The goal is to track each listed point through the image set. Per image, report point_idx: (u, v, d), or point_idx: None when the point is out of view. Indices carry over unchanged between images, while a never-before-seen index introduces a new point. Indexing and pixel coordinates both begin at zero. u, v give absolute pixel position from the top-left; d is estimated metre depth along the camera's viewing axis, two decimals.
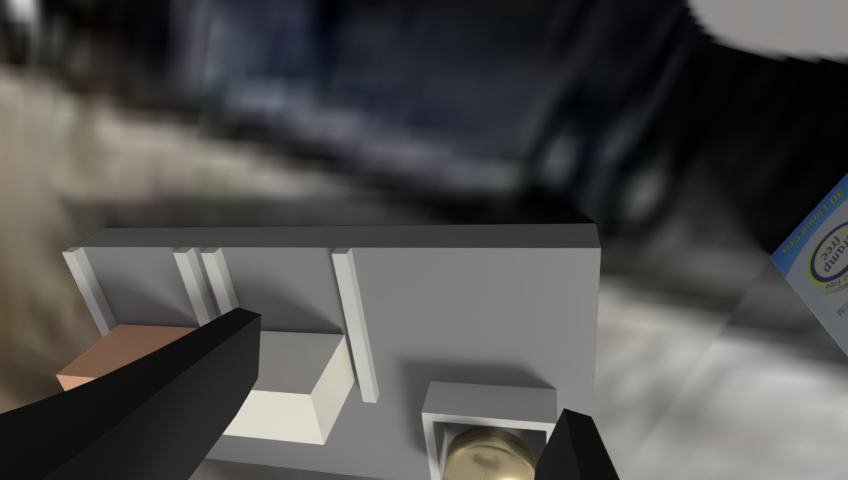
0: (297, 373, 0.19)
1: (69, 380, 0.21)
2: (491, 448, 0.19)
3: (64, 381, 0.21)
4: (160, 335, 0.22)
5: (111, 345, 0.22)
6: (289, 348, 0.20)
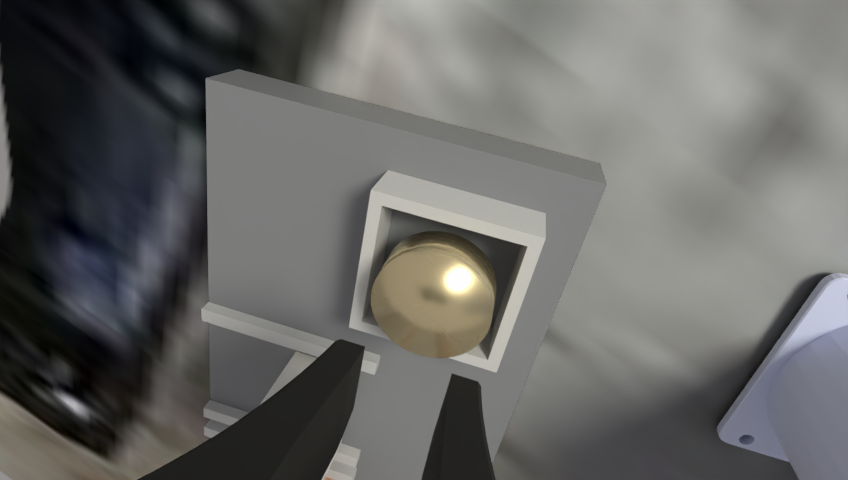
0: None
1: None
2: None
3: None
4: None
5: None
6: None
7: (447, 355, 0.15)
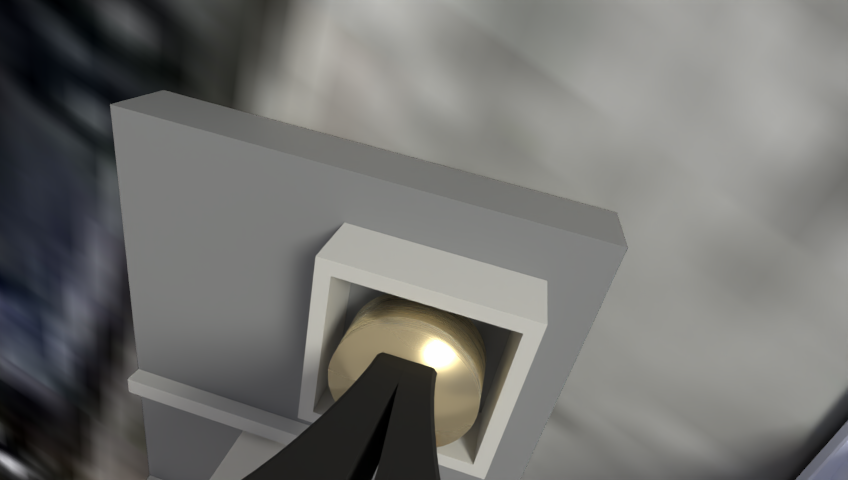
0: None
1: None
2: None
3: None
4: None
5: None
6: None
7: None
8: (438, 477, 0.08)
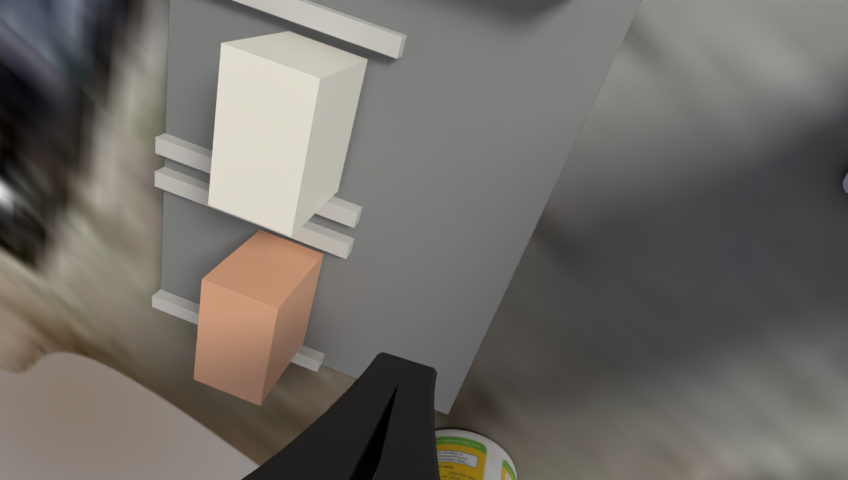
0: None
1: (200, 371, 0.17)
2: None
3: (202, 377, 0.17)
4: None
5: None
6: None
7: None
8: (438, 477, 0.08)
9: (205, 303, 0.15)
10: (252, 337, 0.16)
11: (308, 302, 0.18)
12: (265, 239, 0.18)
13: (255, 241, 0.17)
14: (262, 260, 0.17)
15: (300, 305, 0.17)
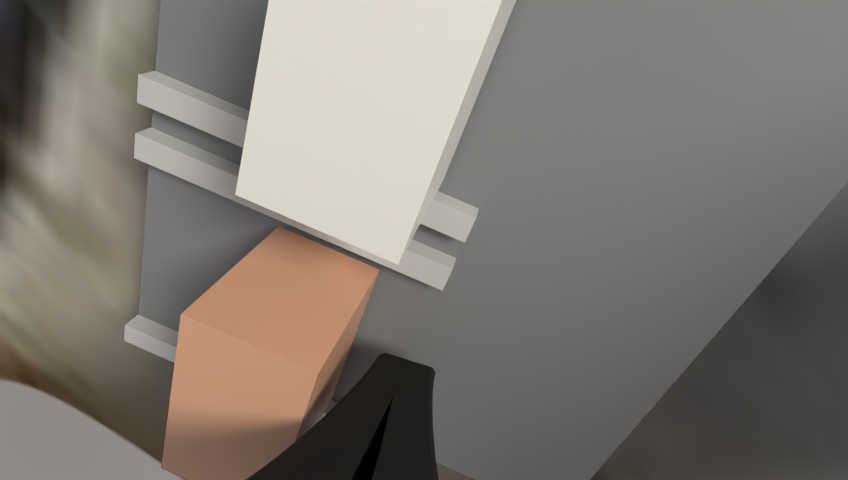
0: None
1: (174, 457, 0.10)
2: None
3: (176, 467, 0.10)
4: None
5: None
6: None
7: None
8: (436, 476, 0.08)
9: (185, 355, 0.09)
10: (266, 417, 0.09)
11: (349, 343, 0.12)
12: (288, 242, 0.11)
13: (272, 245, 0.11)
14: (285, 279, 0.10)
15: (341, 352, 0.11)
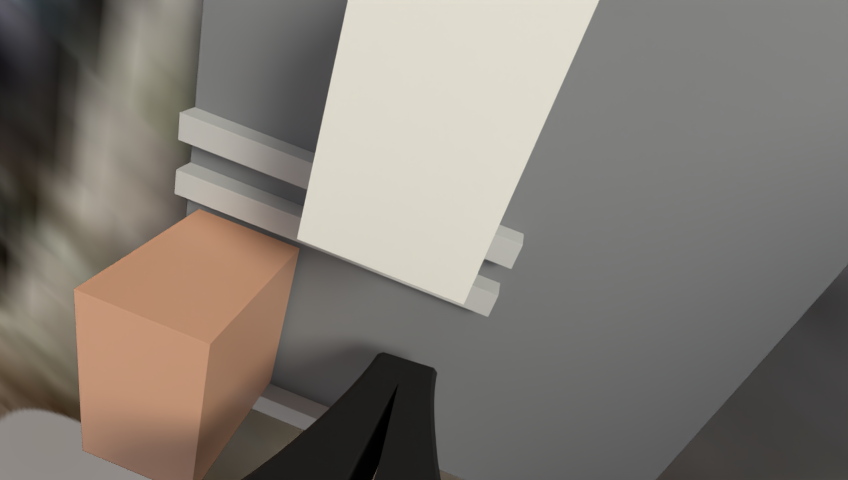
0: None
1: (92, 438, 0.10)
2: None
3: (96, 448, 0.10)
4: None
5: None
6: None
7: None
8: (438, 477, 0.08)
9: (85, 331, 0.09)
10: (169, 391, 0.09)
11: (275, 324, 0.12)
12: (205, 223, 0.11)
13: (188, 225, 0.11)
14: (195, 257, 0.10)
15: (260, 330, 0.11)
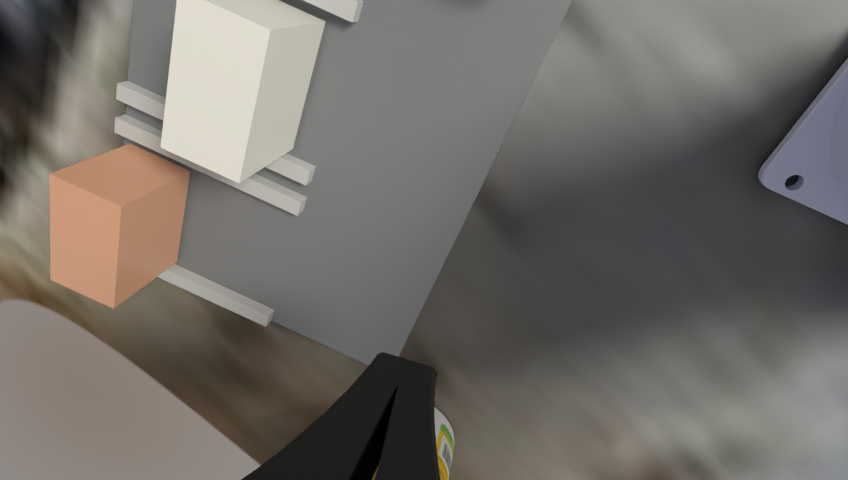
0: None
1: (56, 270, 0.18)
2: None
3: (58, 277, 0.18)
4: None
5: None
6: None
7: None
8: (438, 477, 0.08)
9: (54, 199, 0.16)
10: (100, 237, 0.16)
11: (175, 218, 0.19)
12: (132, 151, 0.18)
13: (121, 151, 0.18)
14: (121, 167, 0.17)
15: (161, 216, 0.18)
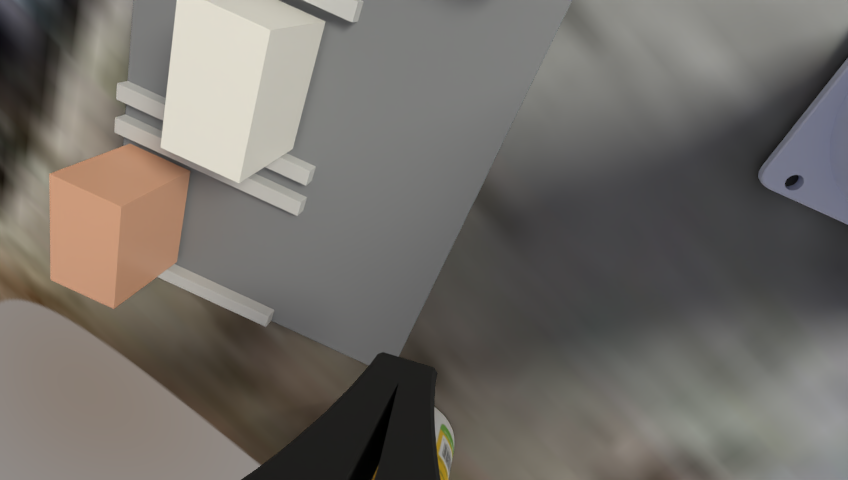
0: None
1: (56, 270, 0.18)
2: None
3: (58, 277, 0.18)
4: None
5: None
6: None
7: None
8: (438, 477, 0.08)
9: (54, 199, 0.16)
10: (100, 237, 0.16)
11: (175, 218, 0.19)
12: (132, 151, 0.18)
13: (121, 151, 0.18)
14: (121, 167, 0.17)
15: (161, 216, 0.18)
